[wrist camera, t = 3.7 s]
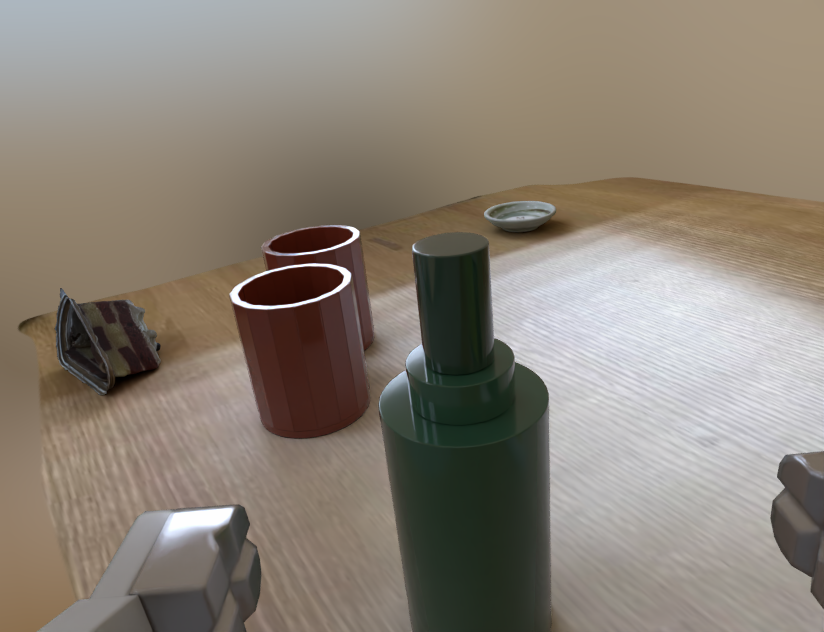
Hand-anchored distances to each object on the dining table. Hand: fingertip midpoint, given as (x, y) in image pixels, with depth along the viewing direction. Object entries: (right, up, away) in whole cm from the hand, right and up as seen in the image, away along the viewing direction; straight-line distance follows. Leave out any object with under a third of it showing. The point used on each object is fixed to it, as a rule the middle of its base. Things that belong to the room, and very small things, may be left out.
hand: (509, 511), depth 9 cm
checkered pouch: (-29, -2, +47) cm, 55 cm away
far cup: (-9, +1, +46) cm, 47 cm away
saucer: (+14, +15, +73) cm, 76 cm away
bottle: (+2, -11, +18) cm, 21 cm away
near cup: (-9, -4, +36) cm, 38 cm away
